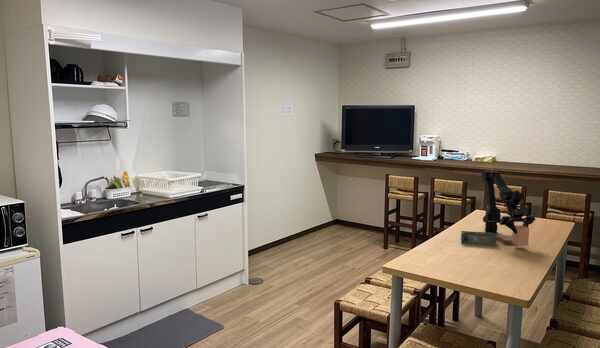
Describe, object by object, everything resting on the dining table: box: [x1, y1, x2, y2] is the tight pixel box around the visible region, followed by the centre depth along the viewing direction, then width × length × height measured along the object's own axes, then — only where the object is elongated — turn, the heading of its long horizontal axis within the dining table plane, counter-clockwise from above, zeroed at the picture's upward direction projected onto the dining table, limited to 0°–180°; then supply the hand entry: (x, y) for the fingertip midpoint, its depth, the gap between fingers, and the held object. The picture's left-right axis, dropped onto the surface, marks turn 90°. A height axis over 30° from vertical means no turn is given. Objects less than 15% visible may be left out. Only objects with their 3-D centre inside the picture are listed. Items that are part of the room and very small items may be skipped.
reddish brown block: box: [511, 224, 530, 247], centre depth 251 cm, size 6×6×10 cm
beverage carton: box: [460, 230, 497, 247], centre depth 261 cm, size 8×19×7 cm, turn 74°
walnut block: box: [496, 234, 514, 245], centre depth 263 cm, size 10×10×3 cm
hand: (522, 233), depth 249 cm, fingers closed on reddish brown block, 6 cm apart
